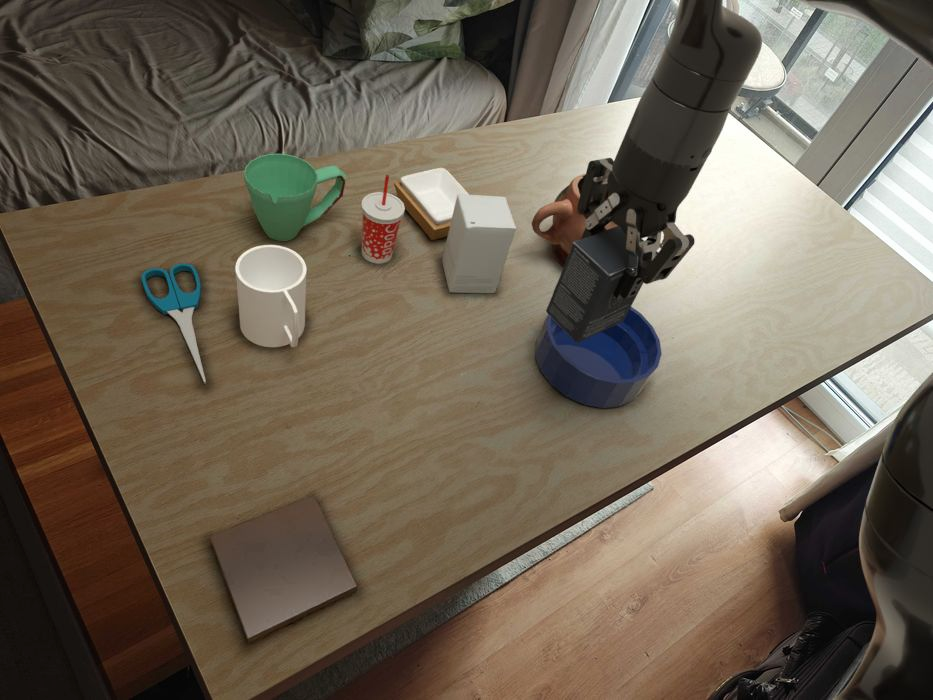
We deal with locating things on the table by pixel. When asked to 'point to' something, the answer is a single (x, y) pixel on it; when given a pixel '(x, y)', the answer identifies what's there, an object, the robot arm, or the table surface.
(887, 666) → the robot arm
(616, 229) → the box
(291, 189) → the mug
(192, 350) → the scissors
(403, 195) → the soap dish
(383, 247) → the beverage cup
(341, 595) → the board
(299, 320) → the cup
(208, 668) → the table surface
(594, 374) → the bowl
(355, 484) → the table surface
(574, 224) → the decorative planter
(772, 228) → the table surface
